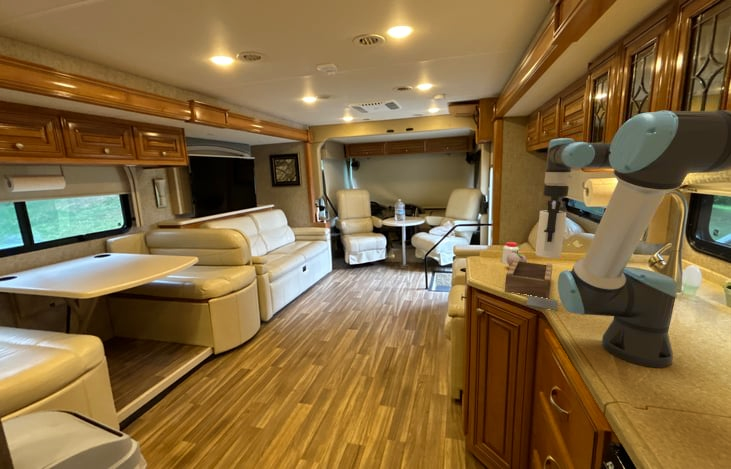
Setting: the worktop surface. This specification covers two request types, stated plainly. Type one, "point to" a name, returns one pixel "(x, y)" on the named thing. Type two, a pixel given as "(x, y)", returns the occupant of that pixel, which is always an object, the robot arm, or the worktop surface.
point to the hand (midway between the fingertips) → (548, 247)
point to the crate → (529, 278)
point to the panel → (542, 303)
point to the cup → (557, 238)
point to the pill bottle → (508, 250)
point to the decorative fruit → (515, 257)
